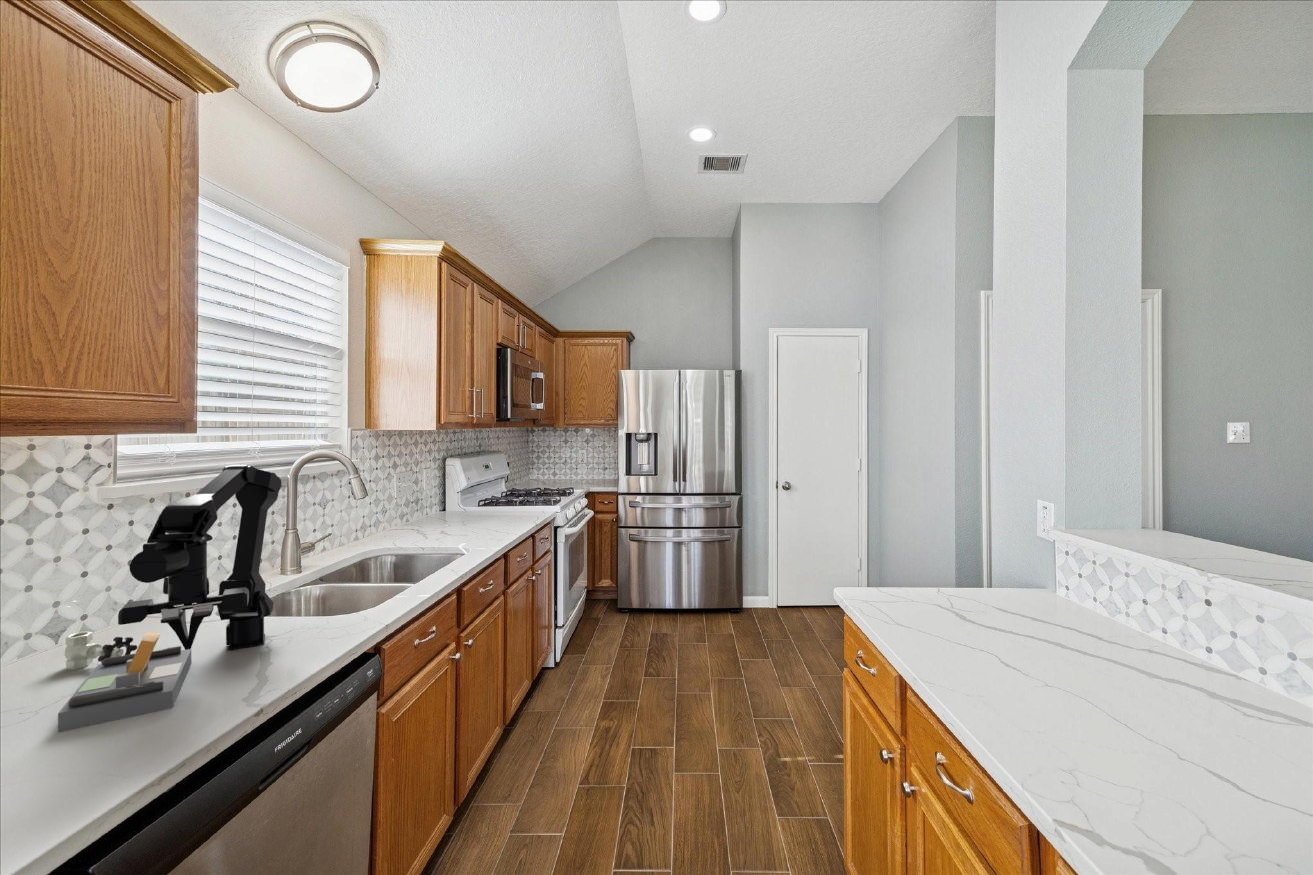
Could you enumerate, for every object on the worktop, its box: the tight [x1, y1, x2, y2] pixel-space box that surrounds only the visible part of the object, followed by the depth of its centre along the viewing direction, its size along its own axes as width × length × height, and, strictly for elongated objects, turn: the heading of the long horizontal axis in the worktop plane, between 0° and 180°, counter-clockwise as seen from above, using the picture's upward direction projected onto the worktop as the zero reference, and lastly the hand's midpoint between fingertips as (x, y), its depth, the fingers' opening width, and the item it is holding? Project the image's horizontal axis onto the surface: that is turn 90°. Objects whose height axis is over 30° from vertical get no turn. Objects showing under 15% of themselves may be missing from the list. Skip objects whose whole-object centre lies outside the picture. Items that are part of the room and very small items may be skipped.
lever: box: [127, 631, 161, 676], centre depth 102 cm, size 2×5×6 cm, turn 34°
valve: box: [64, 631, 138, 670], centre depth 113 cm, size 7×7×12 cm
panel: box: [57, 645, 192, 733], centre depth 101 cm, size 14×22×5 cm, turn 34°
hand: (188, 648), depth 106 cm, fingers closed
